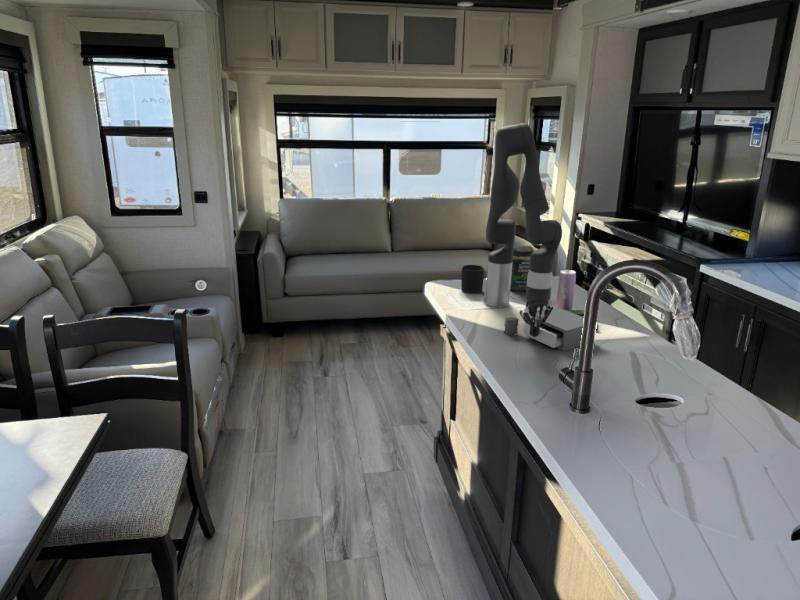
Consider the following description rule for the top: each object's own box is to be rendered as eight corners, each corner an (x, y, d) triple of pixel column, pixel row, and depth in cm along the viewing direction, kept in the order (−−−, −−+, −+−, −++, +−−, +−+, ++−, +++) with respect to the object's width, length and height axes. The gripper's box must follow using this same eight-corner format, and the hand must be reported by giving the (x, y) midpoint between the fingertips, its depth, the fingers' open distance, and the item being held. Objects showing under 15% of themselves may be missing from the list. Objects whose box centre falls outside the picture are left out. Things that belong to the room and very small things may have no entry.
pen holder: (487, 290, 234) (489, 267, 231) (474, 295, 228) (475, 272, 224) (469, 286, 240) (470, 263, 237) (455, 290, 234) (457, 267, 230)
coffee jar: (511, 292, 233) (514, 248, 227) (504, 286, 240) (507, 244, 234) (533, 291, 234) (537, 248, 228) (526, 285, 242) (529, 243, 236)
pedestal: (501, 331, 191) (502, 318, 189) (511, 329, 193) (512, 315, 192) (510, 336, 188) (511, 322, 186) (520, 333, 190) (521, 319, 188)
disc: (538, 333, 184) (538, 329, 184) (551, 330, 187) (551, 325, 187) (552, 339, 180) (552, 335, 179) (565, 336, 183) (565, 331, 182)
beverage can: (573, 308, 214) (578, 271, 209) (569, 313, 209) (573, 274, 204) (558, 305, 217) (562, 268, 212) (553, 310, 212) (557, 272, 207)
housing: (527, 334, 189) (529, 315, 187) (556, 326, 196) (558, 307, 194) (563, 351, 176) (566, 330, 174) (593, 342, 184) (596, 322, 181)
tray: (523, 334, 186) (524, 322, 185) (551, 326, 193) (552, 315, 191) (553, 348, 175) (554, 335, 174) (581, 339, 182) (583, 327, 181)
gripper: (532, 290, 167) (527, 344, 173) (563, 284, 174) (557, 335, 180) (514, 284, 173) (510, 335, 179) (545, 278, 180) (540, 328, 186)
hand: (534, 335), depth 179 cm, fingers closed
